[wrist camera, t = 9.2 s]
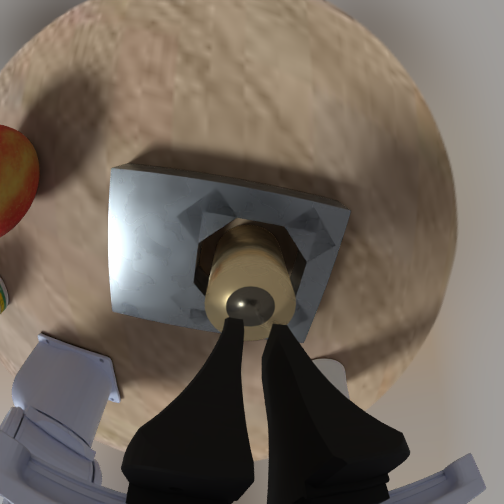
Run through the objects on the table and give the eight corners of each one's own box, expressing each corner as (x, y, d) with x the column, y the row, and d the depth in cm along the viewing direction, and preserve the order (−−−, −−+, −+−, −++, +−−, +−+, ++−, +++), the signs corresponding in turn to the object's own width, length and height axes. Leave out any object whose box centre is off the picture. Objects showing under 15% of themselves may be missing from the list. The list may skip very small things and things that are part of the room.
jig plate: (123, 293, 20) (112, 311, 17) (127, 163, 16) (111, 168, 13) (297, 322, 21) (303, 342, 19) (337, 200, 17) (351, 210, 15)
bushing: (210, 278, 19) (200, 334, 14) (221, 218, 18) (211, 258, 12) (271, 289, 20) (282, 345, 14) (288, 231, 18) (307, 275, 13)
